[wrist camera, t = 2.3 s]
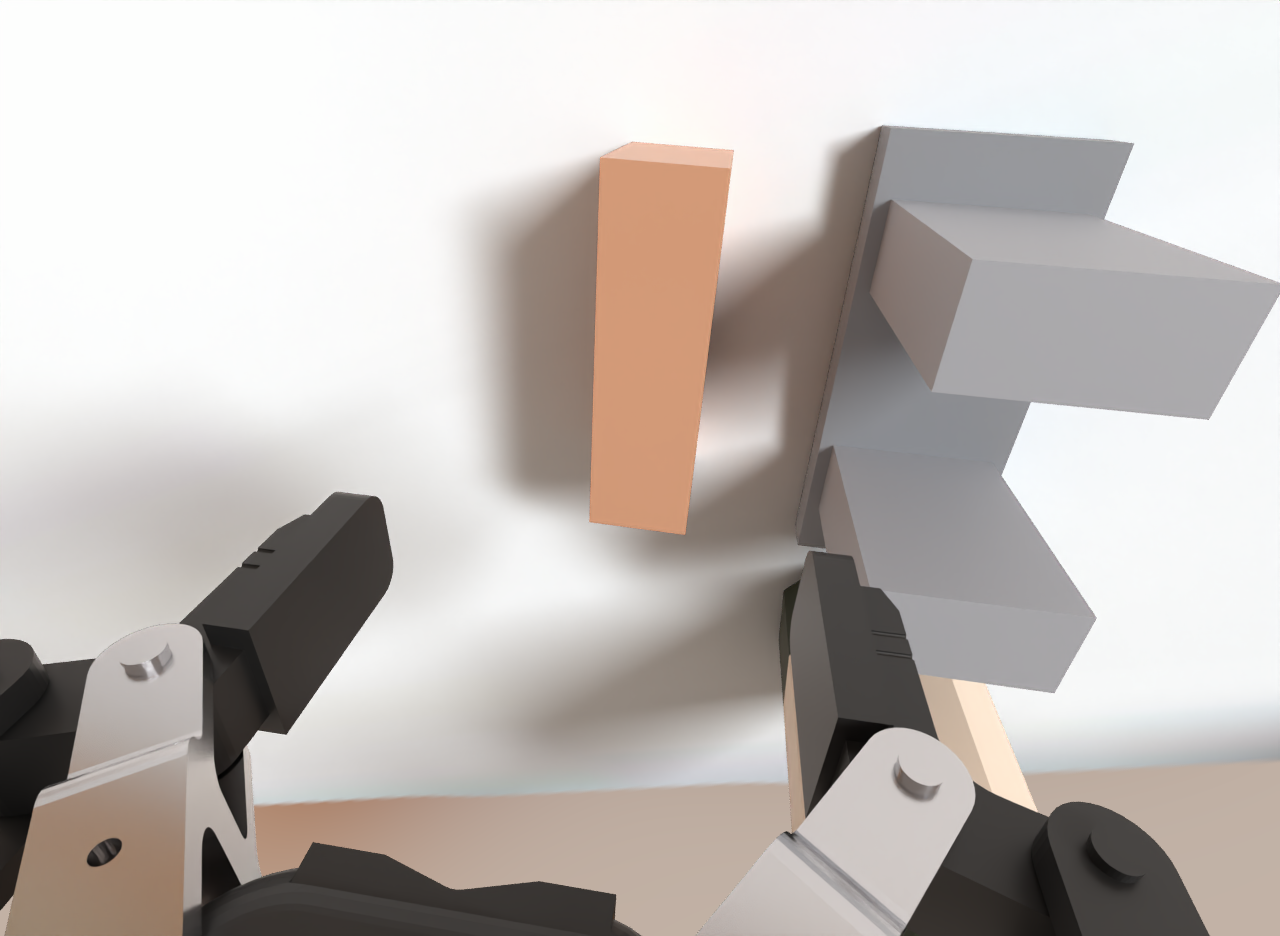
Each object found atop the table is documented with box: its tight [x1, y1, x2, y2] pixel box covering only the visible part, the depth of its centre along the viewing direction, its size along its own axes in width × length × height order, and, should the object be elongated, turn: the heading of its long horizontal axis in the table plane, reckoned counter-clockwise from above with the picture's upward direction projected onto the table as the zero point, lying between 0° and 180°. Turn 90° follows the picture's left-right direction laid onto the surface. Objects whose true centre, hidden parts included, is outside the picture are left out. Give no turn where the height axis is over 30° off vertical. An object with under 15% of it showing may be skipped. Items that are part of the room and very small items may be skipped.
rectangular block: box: [589, 142, 734, 535], centre depth 23 cm, size 4×12×6 cm, turn 176°
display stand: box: [795, 125, 1280, 693], centre depth 20 cm, size 7×16×10 cm, turn 177°
